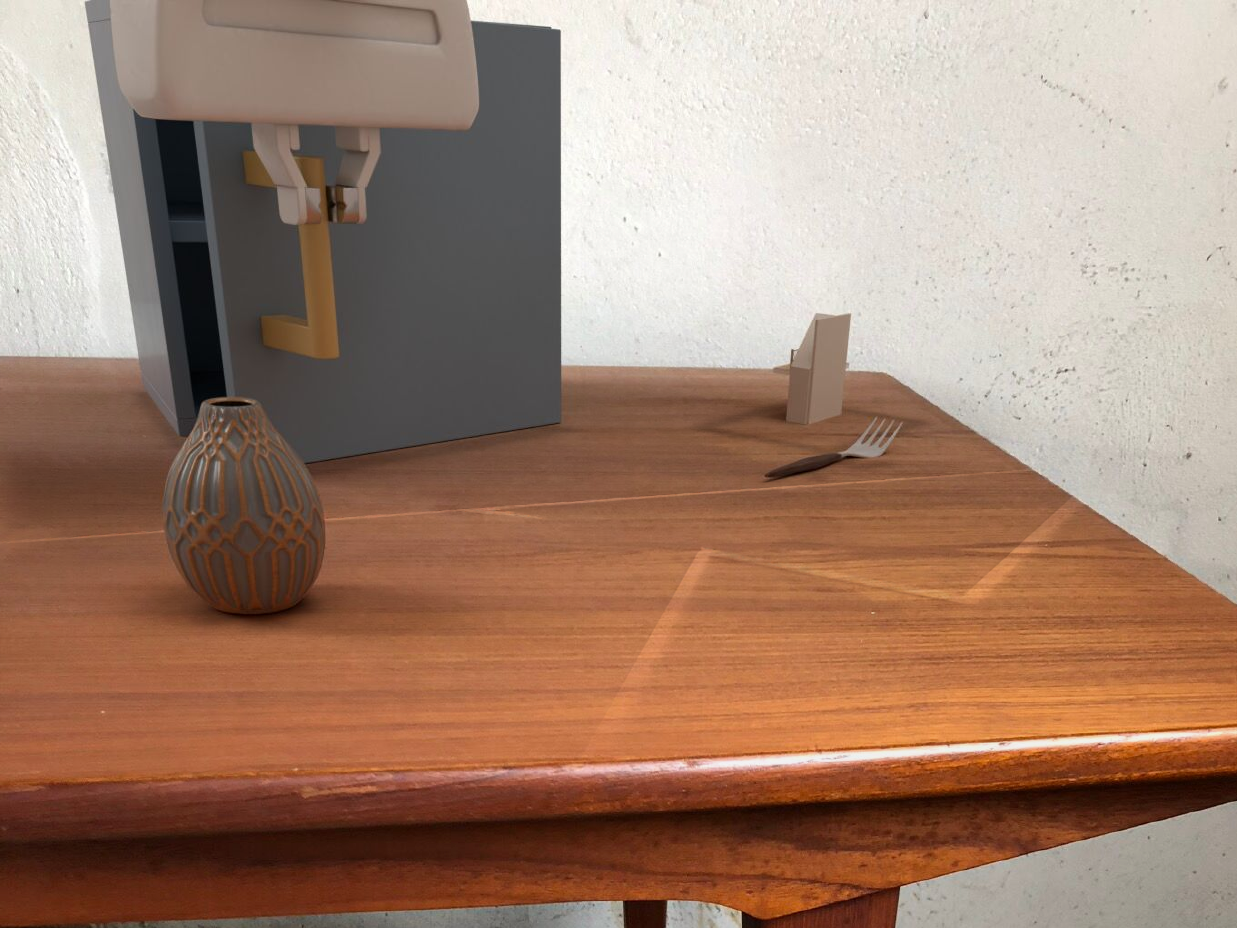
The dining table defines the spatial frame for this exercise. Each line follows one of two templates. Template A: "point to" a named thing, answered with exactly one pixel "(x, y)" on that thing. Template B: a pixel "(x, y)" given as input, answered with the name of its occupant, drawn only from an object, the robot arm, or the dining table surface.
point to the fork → (840, 453)
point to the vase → (243, 512)
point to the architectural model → (818, 370)
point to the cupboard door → (401, 271)
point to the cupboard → (161, 242)
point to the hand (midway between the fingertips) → (324, 223)
